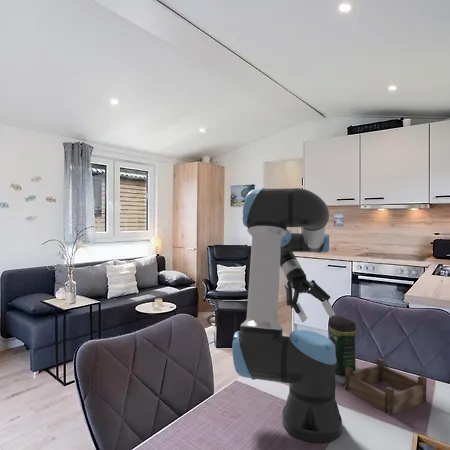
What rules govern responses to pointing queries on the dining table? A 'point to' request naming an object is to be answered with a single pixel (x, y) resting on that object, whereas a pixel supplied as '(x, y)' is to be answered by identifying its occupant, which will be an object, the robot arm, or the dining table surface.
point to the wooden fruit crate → (388, 400)
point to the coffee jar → (343, 342)
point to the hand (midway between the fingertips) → (319, 318)
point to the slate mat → (341, 378)
